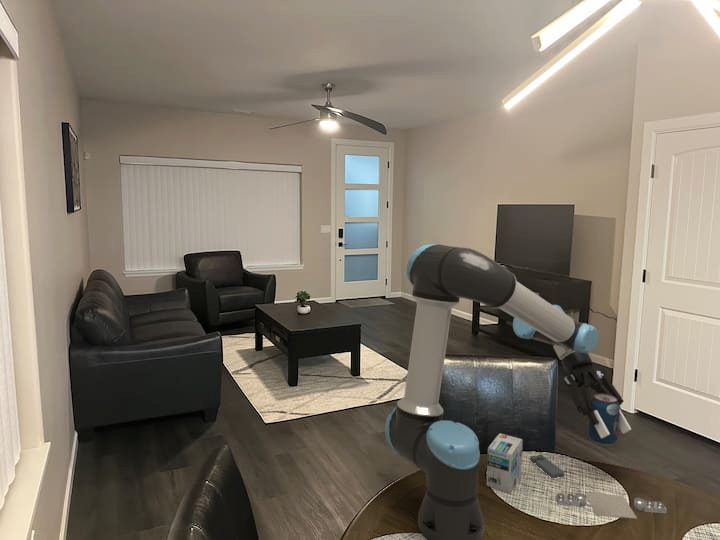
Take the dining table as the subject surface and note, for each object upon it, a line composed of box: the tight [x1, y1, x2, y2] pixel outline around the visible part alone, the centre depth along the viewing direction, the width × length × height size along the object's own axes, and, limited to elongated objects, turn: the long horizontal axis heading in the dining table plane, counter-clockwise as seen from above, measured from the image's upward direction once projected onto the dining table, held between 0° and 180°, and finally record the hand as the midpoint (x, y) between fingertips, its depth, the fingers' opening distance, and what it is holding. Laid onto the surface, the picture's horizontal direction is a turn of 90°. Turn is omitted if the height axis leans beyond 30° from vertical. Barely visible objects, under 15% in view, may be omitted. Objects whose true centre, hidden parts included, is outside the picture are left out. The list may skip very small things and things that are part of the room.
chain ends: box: [555, 492, 668, 520], centre depth 126 cm, size 25×9×2 cm, turn 82°
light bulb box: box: [486, 432, 524, 494], centre depth 137 cm, size 11×7×11 cm, turn 148°
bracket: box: [529, 454, 565, 479], centre depth 143 cm, size 4×10×2 cm, turn 15°
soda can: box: [588, 393, 621, 446], centre depth 135 cm, size 7×7×12 cm
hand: (616, 433), depth 131 cm, fingers closed on soda can, 7 cm apart
